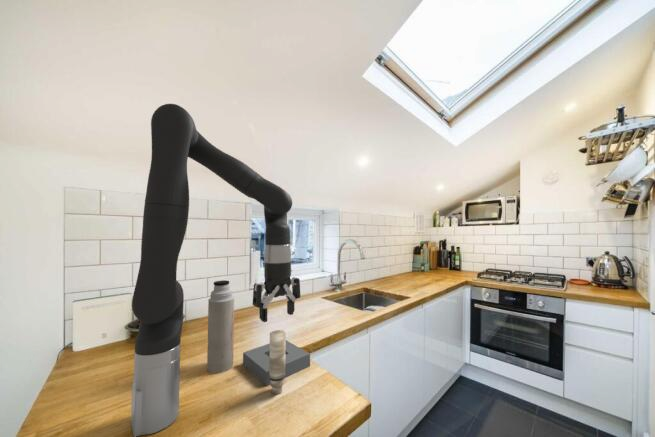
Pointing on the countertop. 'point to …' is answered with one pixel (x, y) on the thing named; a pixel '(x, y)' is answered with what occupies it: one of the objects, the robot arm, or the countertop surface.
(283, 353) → the ash peg
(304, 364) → the gray board
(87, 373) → the countertop surface
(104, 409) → the countertop surface
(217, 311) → the thermos bottle
